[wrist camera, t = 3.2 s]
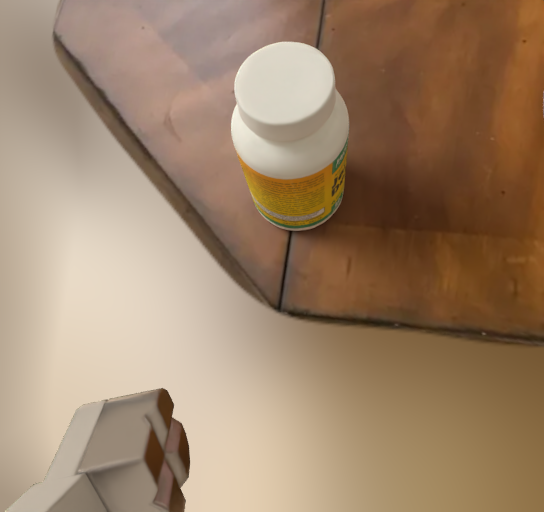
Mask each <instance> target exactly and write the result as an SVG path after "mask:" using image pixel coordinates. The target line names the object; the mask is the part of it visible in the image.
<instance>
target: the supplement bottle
mask: <svg viewBox="0 0 544 512" xmlns="http://www.w3.org/2000/svg"><path fill="white" fill-rule="evenodd" d="M235 97H236V101H237V105H236V107H235V109H234V112H233V116H232V121H231V134H232V139H233V143H234V146H235V149H236V152H237V155H238V158H239V161H240V163H241V166H242V169H243V172H244V175H245V178H246V181H247V184H248V187H249V189H250V192H251V195H252V199H253V201H254V204H255V206H256V208H257V209H258V211H259V212H260V214H261V215H262V216H263V217H264V218H265V219H266V220H267V221H269V222H270V223H272V224H273V225H275V226H277V227H279V228H282V229H285V230H291V231H301V230H308V229H312V228H314V227H316V226H319V225H320V224H322V223H324V222H325V221H326V220H328V219H329V218H330V217H331V216H332V215H333V214H334V213H335V211H336V210H337V209H338V207H339V205H340V203H341V201H342V198H343V192H344V181H345V170H346V158H347V149H348V135H349V117H348V111H347V108H346V105H345V103H344V101H343V99H342V97H341V95H340V94H339V93H338V91H337V90H336V89H335V75H334V71H333V68H332V65H331V64H330V62H329V60H328V59H327V58H326V57H325V56H324V55H323V54H322V53H321V52H320V51H319V50H317V49H316V48H314V47H312V46H309V45H307V44H303V43H298V42H279V43H274V44H271V45H267V46H265V47H263V48H261V49H259V50H257V51H256V52H254V53H253V54H252V55H250V56H249V57H248V58H247V59H246V60H245V61H244V62H243V64H242V65H241V67H240V69H239V71H238V73H237V76H236V79H235Z"/></svg>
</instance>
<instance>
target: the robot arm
mask: <svg viewBox="0 0 544 512" xmlns="http://www.w3.org/2000/svg"><path fill="white" fill-rule="evenodd" d="M173 408H174V404H173V402H172V399H171V397H170V395H169V393H168V391H167V390H165V389H163V388H161V389H156V390H151V391H146V392H141V393H136V394H131V395H126V396H121V397H116V398H111V399H109V400H102V401H98V402H93V403H88V404H84V405H82V406H81V407H79V408H78V409H77V410H76V412H75V414H74V416H73V418H72V420H71V422H70V425H69V427H68V429H67V431H66V433H65V435H64V438H63V440H62V442H61V444H60V446H59V448H58V451H57V453H56V455H55V457H54V459H53V461H52V464H51V466H50V468H49V470H48V472H47V474H46V476H45V479H44V481H43V482H41V483H36V484H33V485H32V486H31V487H30V488H29V489H28V490H27V491H26V492H25V493H24V494H23V495H22V496H20V497H19V498H18V499H17V500H16V501H15V502H14V503H13V504H12V505H11V506H10V507H9V508H8V509H6V510H5V511H4V512H184V509H185V502H186V500H185V498H184V496H183V493H182V491H181V489H180V488H181V486H182V485H183V484H184V483H185V481H186V480H187V478H188V477H189V468H190V456H189V445H188V441H187V437H186V433H185V430H184V428H183V426H182V423H180V422H179V421H177V420H175V419H174V418H172V413H173Z"/></svg>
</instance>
